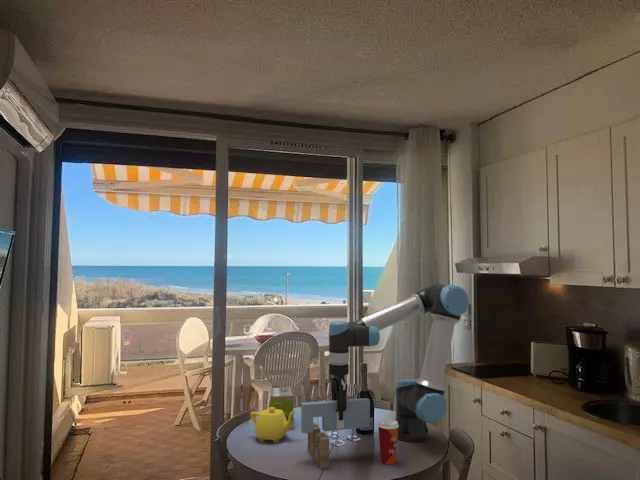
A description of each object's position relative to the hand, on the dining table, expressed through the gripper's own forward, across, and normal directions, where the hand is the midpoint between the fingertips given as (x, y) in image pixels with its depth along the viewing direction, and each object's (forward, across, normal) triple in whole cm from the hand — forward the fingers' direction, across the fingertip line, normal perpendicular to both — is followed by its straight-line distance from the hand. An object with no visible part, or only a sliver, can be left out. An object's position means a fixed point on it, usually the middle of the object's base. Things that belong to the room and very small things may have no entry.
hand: (338, 427), depth 175 cm
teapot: (+11, -25, -20) cm, 34 cm away
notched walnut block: (+11, 0, -8) cm, 13 cm away
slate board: (+1, 0, -1) cm, 1 cm away
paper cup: (+11, +9, +16) cm, 21 cm away
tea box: (+11, -42, -13) cm, 45 cm away
